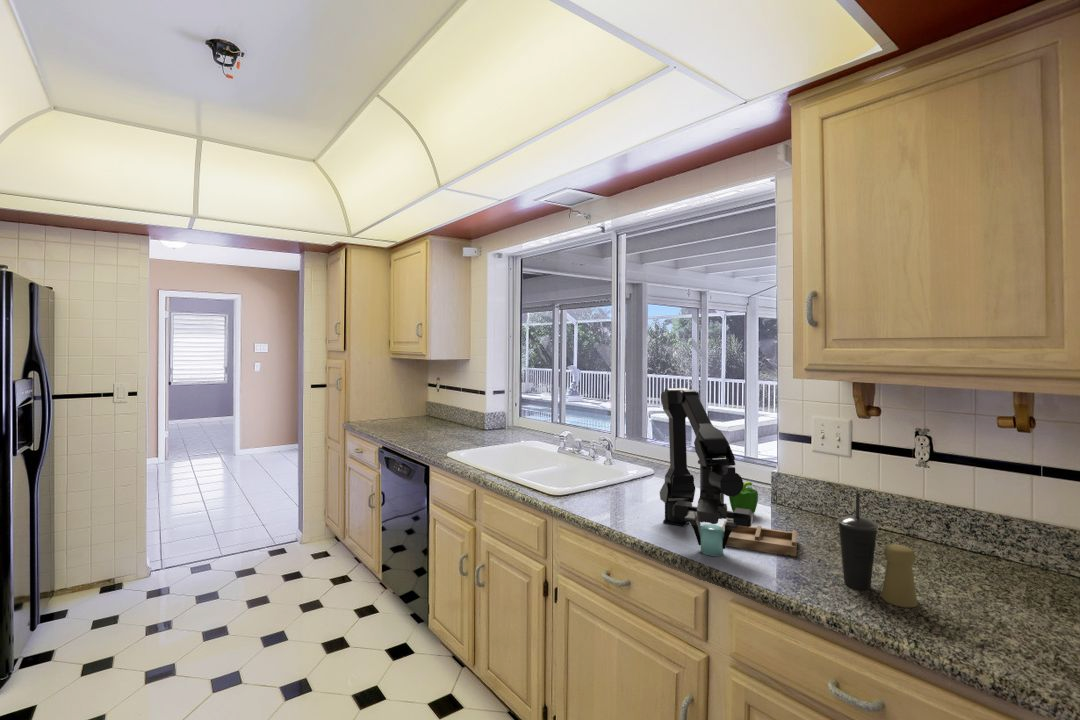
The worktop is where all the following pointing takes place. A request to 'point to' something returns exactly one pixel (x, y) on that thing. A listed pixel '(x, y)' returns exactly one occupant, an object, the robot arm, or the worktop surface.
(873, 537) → the drinking cup
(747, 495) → the bell pepper
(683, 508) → the robot arm
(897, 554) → the cork
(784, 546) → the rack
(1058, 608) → the worktop surface
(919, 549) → the worktop surface
